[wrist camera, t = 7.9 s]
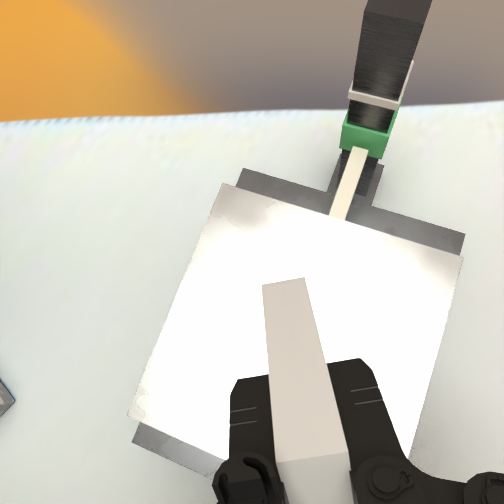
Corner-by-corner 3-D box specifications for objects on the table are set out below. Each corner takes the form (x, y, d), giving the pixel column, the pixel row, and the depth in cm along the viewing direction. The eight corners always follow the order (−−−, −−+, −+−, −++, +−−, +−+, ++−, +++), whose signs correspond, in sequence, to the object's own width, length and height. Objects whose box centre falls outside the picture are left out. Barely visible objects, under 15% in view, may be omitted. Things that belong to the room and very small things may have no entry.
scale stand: (137, 439, 27) (-79, 532, 12) (259, 137, 32) (215, -78, 16) (372, 547, 24) (482, 852, 9) (471, 197, 29) (660, 1, 13)
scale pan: (170, 403, 26) (126, 415, 20) (262, 170, 29) (250, 116, 23) (365, 487, 24) (386, 532, 17) (443, 224, 27) (485, 179, 21)
